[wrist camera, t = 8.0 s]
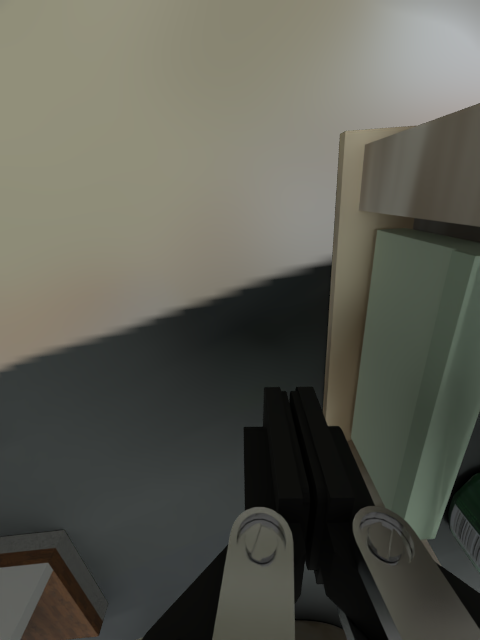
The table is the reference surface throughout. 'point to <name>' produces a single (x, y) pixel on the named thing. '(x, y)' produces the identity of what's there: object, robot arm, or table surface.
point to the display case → (47, 589)
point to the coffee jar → (467, 519)
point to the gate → (419, 371)
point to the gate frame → (391, 213)
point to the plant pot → (317, 631)
